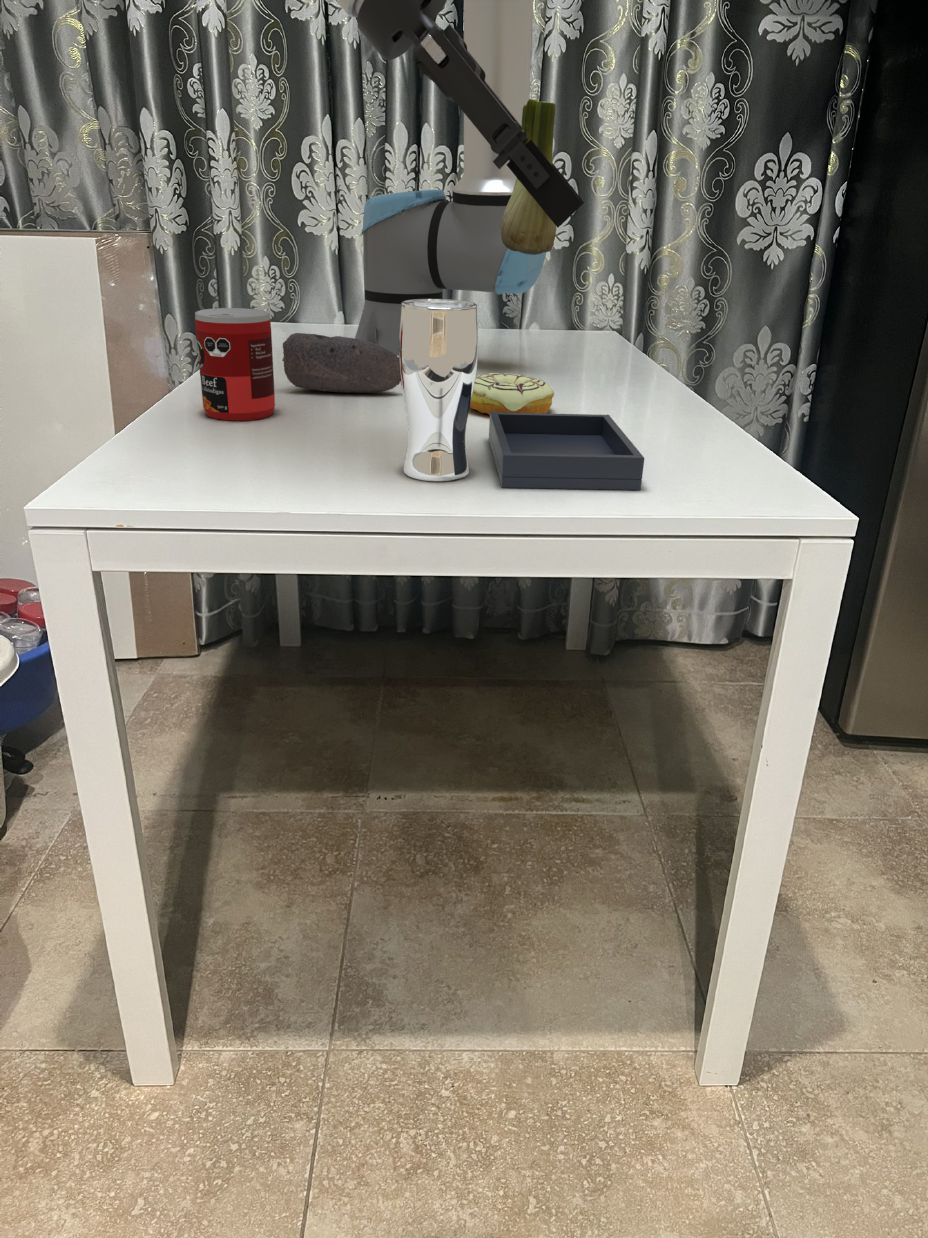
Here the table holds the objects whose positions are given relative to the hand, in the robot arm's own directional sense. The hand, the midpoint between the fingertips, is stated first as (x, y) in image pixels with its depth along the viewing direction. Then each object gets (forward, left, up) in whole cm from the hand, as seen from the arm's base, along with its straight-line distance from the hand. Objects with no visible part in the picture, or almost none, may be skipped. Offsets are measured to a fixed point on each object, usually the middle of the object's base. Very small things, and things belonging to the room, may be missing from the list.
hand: (571, 214), depth 79 cm
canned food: (-18, -33, -22) cm, 44 cm away
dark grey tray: (0, +1, -22) cm, 22 cm away
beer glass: (+3, -11, -22) cm, 25 cm away
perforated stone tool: (-31, -22, -22) cm, 45 cm away
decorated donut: (-23, -2, -22) cm, 33 cm away
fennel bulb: (-1, -4, -4) cm, 5 cm away
